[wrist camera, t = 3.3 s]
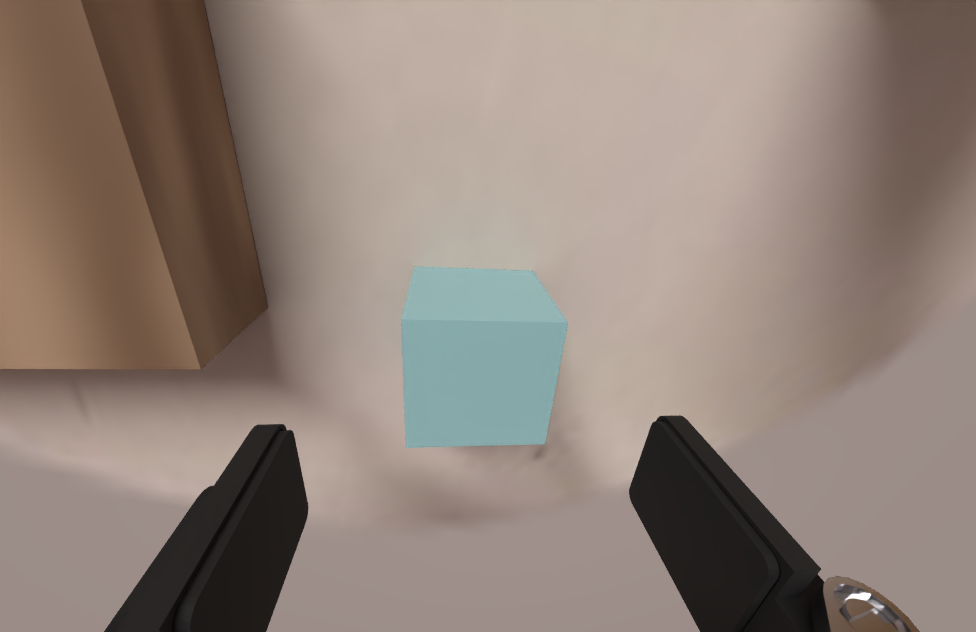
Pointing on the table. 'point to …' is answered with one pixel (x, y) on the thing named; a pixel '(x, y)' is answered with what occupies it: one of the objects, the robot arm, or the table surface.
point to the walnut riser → (118, 189)
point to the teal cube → (479, 357)
